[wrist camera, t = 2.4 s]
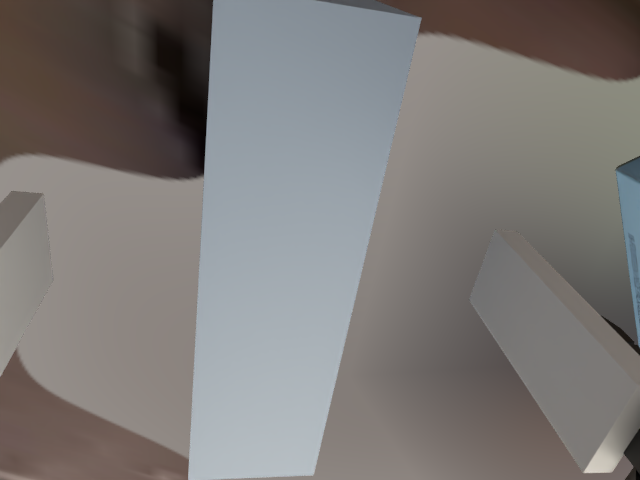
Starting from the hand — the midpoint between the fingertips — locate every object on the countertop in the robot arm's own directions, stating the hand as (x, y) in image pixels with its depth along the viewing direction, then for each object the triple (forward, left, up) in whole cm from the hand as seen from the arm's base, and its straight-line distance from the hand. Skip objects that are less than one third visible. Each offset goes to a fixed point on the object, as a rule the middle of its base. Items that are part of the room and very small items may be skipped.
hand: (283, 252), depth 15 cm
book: (0, 0, -10) cm, 10 cm away
